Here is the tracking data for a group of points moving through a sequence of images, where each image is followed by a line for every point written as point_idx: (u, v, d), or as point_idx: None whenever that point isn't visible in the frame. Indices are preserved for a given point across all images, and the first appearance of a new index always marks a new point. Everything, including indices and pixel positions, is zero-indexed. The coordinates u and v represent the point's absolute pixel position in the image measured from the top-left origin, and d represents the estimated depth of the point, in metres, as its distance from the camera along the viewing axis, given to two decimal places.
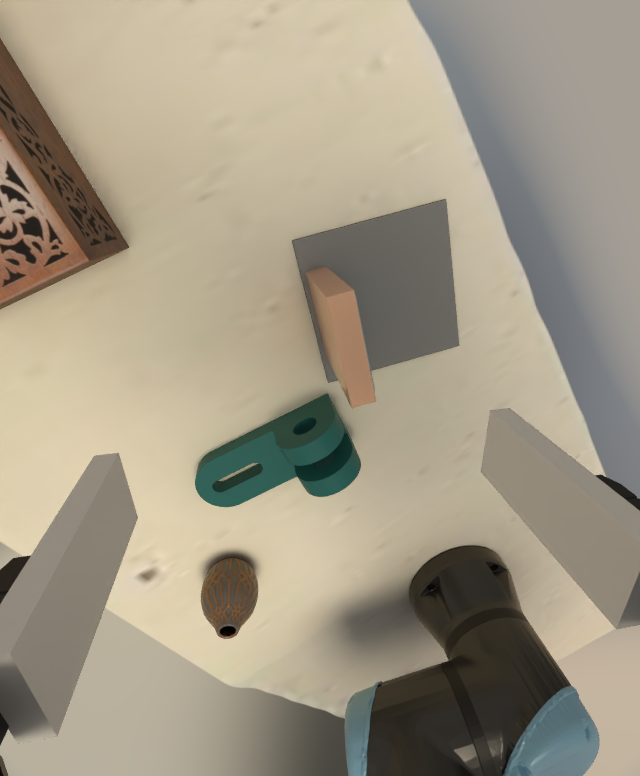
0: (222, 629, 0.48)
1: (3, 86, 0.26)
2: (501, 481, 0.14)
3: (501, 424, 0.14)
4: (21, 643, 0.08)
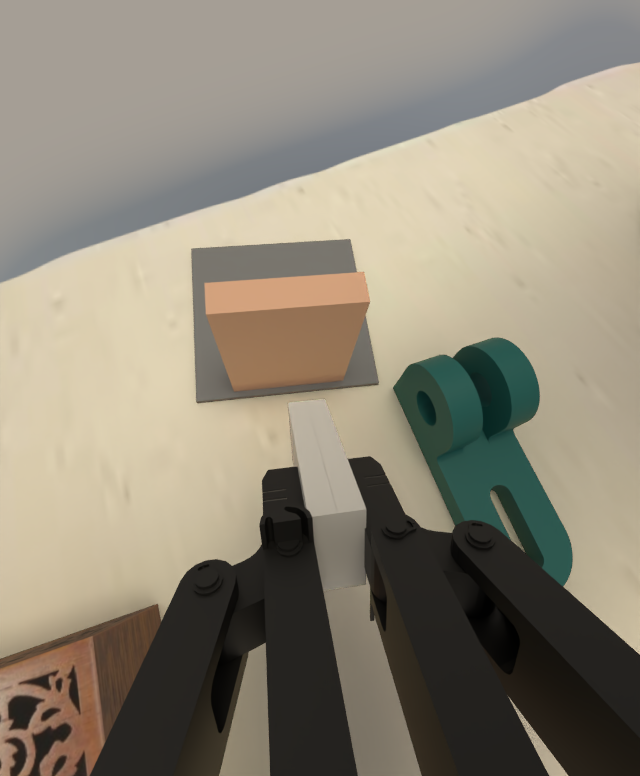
0: None
1: None
2: None
3: None
4: None
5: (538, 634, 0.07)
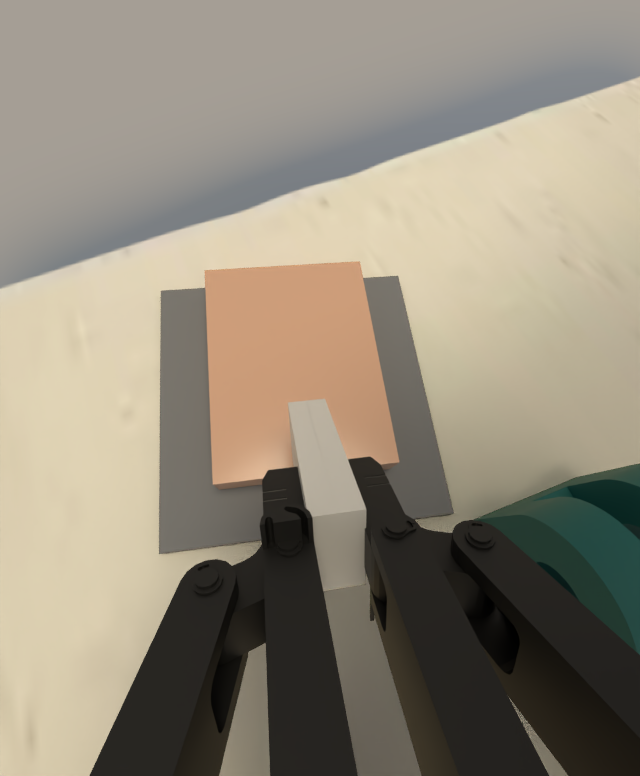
0: None
1: None
2: None
3: None
4: None
5: (538, 634, 0.07)
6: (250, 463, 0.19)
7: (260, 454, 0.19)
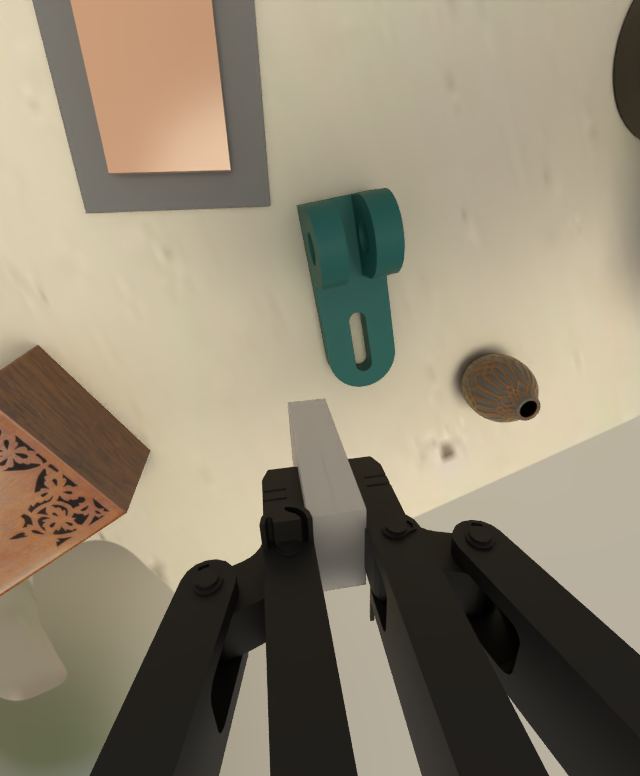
0: (530, 411, 0.41)
1: None
2: None
3: None
4: None
5: (538, 634, 0.07)
6: (131, 160, 0.30)
7: (137, 154, 0.30)
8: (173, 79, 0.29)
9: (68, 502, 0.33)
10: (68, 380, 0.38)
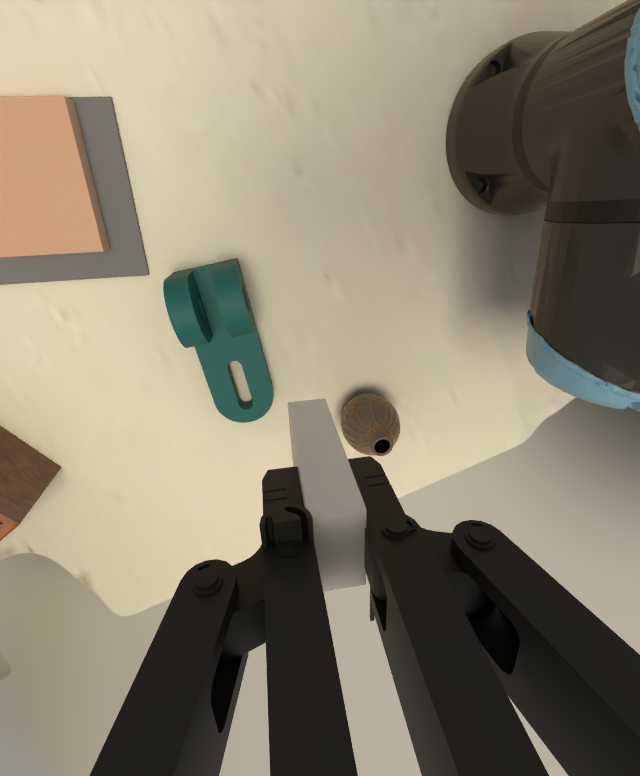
0: None
1: None
2: None
3: None
4: None
5: (538, 634, 0.07)
6: (17, 247, 0.36)
7: (21, 242, 0.36)
8: (45, 183, 0.35)
9: None
10: None
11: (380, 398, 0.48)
